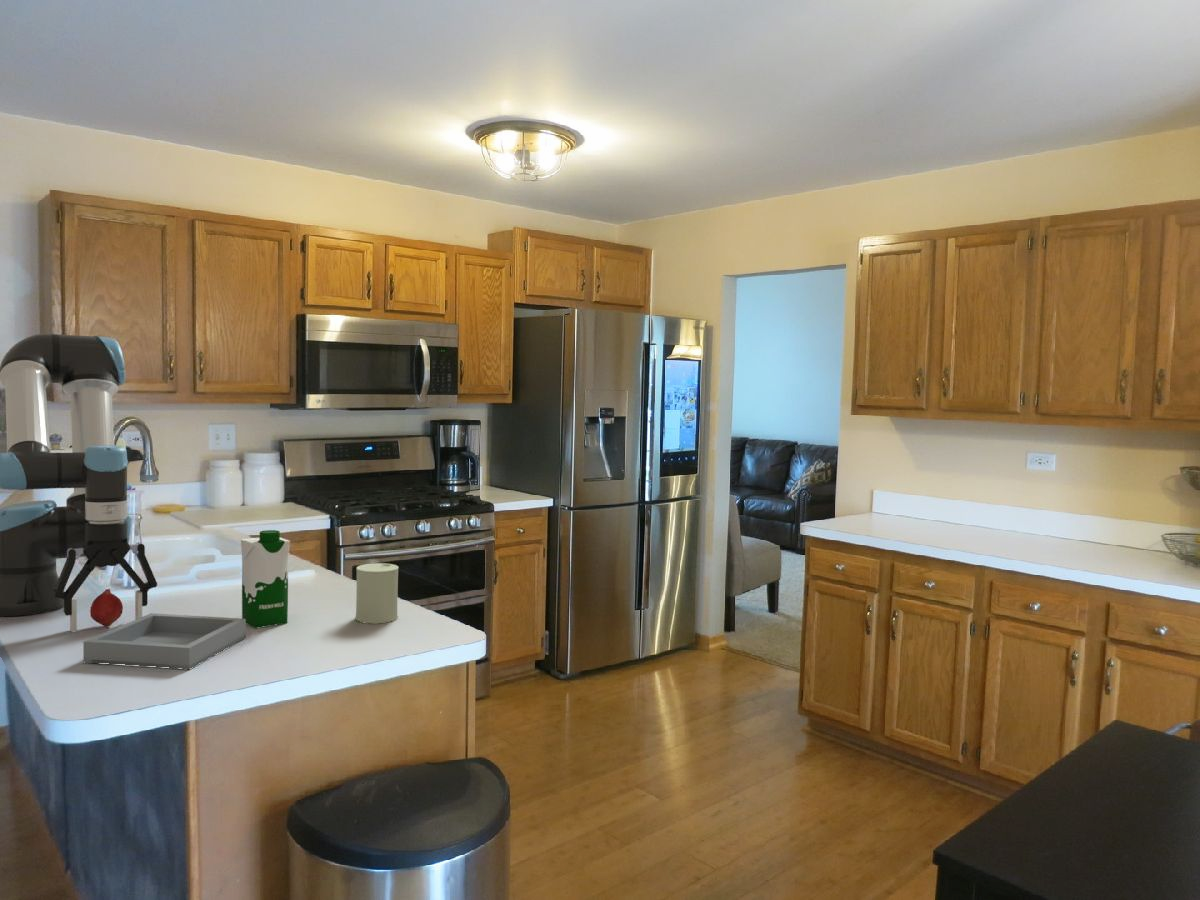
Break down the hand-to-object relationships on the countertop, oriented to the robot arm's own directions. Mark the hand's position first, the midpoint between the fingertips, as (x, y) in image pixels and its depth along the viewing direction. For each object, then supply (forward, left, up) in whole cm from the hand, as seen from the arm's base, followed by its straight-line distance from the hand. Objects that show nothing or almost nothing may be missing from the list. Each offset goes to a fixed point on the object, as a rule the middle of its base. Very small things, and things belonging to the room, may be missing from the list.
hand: (106, 626), depth 176 cm
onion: (0, 0, 0) cm, 0 cm away
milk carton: (+29, +10, 0) cm, 31 cm away
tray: (+21, -12, 0) cm, 24 cm away
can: (+51, +18, 0) cm, 54 cm away
